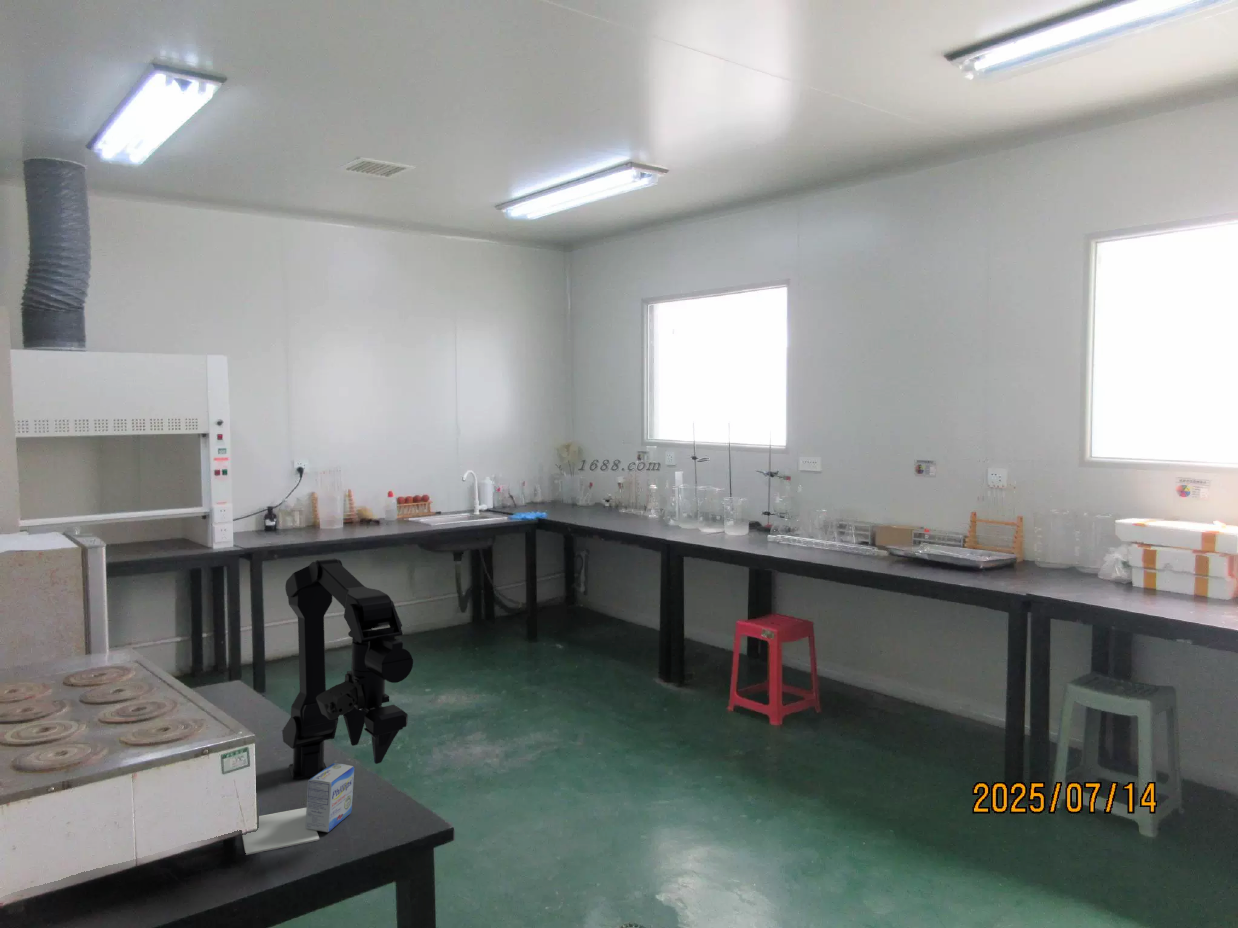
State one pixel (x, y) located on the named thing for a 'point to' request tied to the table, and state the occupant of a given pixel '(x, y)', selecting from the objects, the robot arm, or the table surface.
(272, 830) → the mat
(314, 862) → the table surface
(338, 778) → the medicine box
